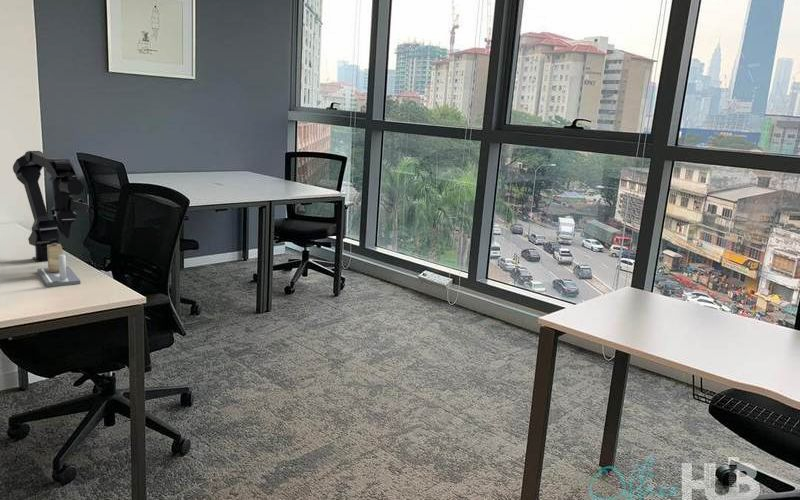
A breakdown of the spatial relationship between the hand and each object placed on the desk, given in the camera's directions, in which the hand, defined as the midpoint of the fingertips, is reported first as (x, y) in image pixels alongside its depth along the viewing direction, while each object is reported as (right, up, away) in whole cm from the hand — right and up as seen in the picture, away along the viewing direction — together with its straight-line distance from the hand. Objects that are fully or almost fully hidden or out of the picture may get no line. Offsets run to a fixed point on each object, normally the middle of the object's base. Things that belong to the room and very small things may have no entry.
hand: (65, 236), depth 222 cm
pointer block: (0, -12, -6) cm, 14 cm away
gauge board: (+3, -15, -10) cm, 18 cm away
